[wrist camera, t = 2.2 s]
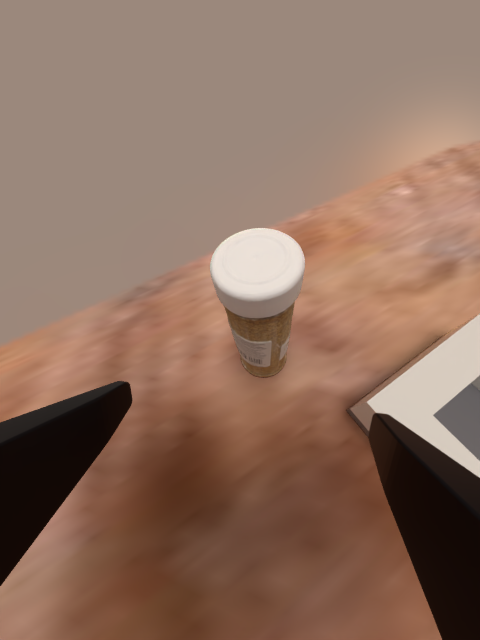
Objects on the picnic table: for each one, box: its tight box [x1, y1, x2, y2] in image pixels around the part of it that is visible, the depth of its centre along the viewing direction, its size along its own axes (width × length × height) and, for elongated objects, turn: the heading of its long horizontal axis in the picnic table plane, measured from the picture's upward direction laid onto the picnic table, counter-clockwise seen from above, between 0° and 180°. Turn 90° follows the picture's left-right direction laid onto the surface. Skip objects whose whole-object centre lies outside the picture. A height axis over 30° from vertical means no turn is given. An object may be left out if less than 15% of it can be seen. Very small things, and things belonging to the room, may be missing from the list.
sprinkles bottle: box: [210, 228, 305, 377], centre depth 16 cm, size 5×5×13 cm
